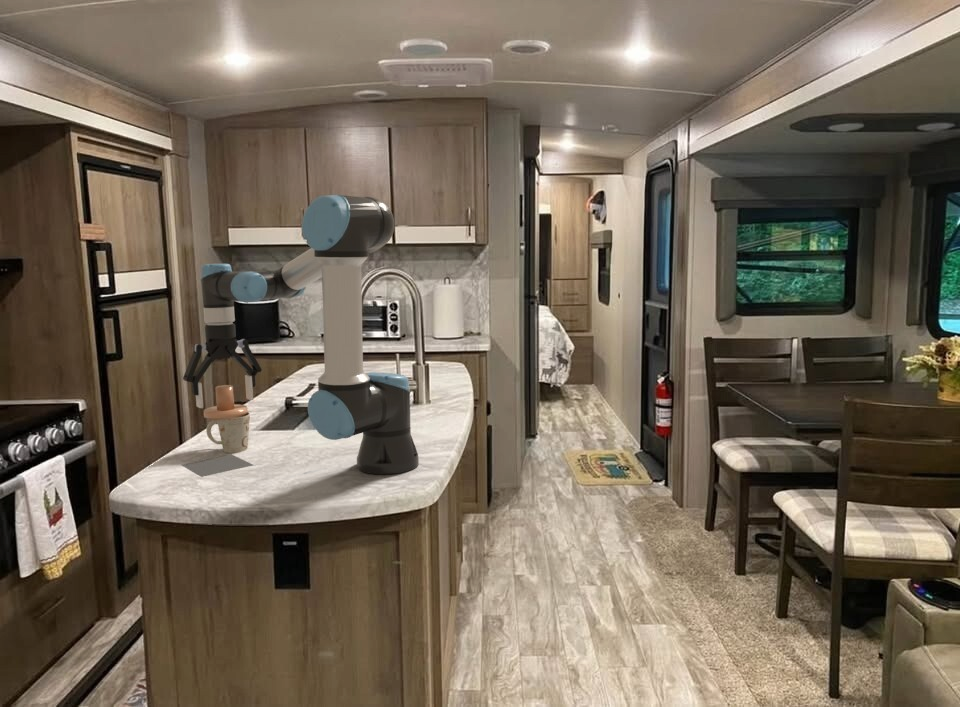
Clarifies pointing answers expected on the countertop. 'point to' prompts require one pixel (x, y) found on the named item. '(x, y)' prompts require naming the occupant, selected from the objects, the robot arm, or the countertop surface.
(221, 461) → the mat
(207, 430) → the mug
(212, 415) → the lid
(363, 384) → the robot arm
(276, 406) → the countertop surface
